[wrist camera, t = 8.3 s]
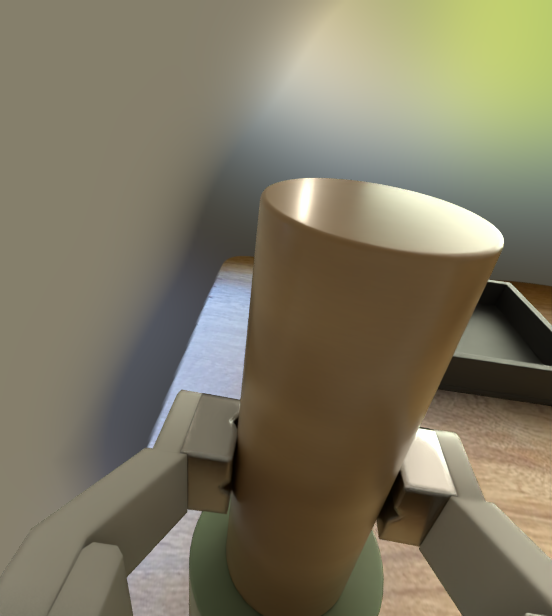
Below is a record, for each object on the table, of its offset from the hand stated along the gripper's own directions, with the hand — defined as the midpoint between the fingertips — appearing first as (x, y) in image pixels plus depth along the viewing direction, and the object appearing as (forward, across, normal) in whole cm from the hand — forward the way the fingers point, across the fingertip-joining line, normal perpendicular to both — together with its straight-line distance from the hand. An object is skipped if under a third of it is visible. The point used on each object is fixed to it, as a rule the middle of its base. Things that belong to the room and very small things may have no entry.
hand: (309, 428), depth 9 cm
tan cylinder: (-1, 0, +6) cm, 7 cm away
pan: (+22, -12, +11) cm, 27 cm away
